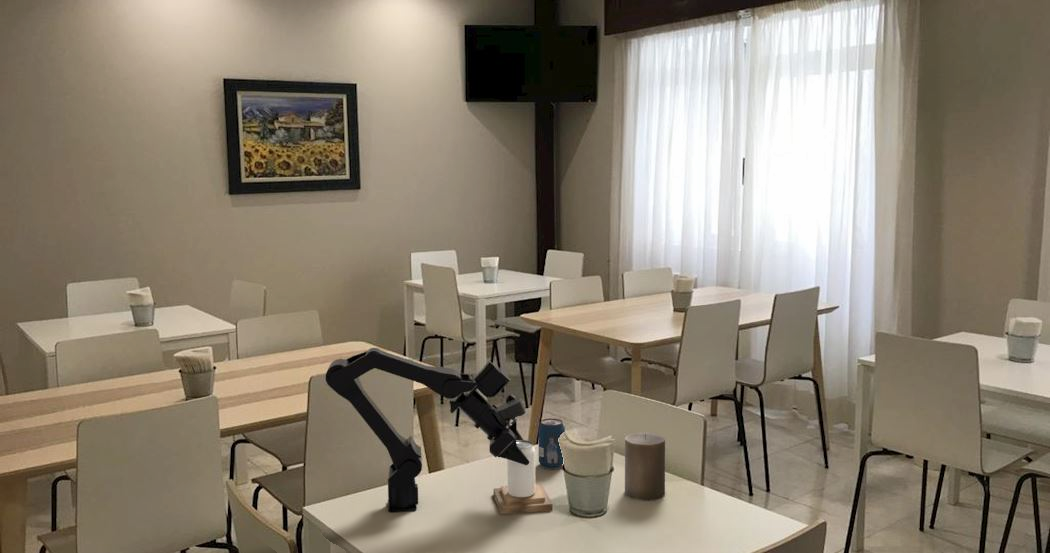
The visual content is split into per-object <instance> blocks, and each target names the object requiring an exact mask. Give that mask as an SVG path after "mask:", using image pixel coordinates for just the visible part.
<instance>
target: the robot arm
mask: <svg viewBox="0 0 1050 553" xmlns="http://www.w3.org/2000/svg"><path fill="white" fill-rule="evenodd" d="M374 369H376V370H380V371H382V372H385V373H389V374H391V375H395V376H398V377H400V378H404V379H407V380H410V381H412V382H415V383H418V384H422V385H424V386H425V387H427V388H428V389H430V391H432V392H434V393H435V394H438V395H440V396H442V397H444V398H446V399H449V402H448V403H449V406H450V410H449V411H450V413H451V414H453V413H455V411H457V410H458V409H459V410H460V411H461V412H462V413H464V415H466V417H467V418H468V419H470V420H471V422H472V423H474V427H475V429H480V430H481V431H482V432H484V434H486V436H487V437H486V438H487V439H488V441H489V453H490V454H491V455H492V456H493V457H494V458H502V459H505V460H507V459H508V460H512V461H515V462H518V463H521V464H524V465H528V464H529V460H528V459H527V457H526V456H525V455H524V453H523V452H522V451H521V449H520V448H519V447H518V445H517V444H516V440H524V438H523V436H522V435H521V433H520V432H519V430H518V429H517V428H518V427H517V421H518V420H517V417H521V416H523V415H525V414H526V408H525V406H524V403H523V402H522V398H521V397H519V396H515V395H514V394H512V393H510V394H508V395H506V396H505V402H503V403H502V404H501V405H497V404H496V403H490V402H489V401H488V400H487V399H486V398H490V399H491V398H495V397H496V396H498V395H499V393H500V392H501V391H502V390H503V389H504V388H505V387H507V385H508V384H510V382H511V381H512V380H511V378H510V377H509V375H508V374H507V373H505V371H504V370H503V369H502V368H501V367H498V366H497V365H496V364H494V363H493V362H492V361H491V360H488V361H487V362H486V363H485V365H484V367H483V368H481V369H480V371H478V372H477V374H476V375H475V374H471V373H463V372H462V373H461V372H460V371H458V370H457V369H455V368H452V367H450V368H449V367H444V366H429V365H425V364H422V363H420V362H417V361H413V360H410V359H407V358H405V357H401V356H398V355H395V354H392V353H389V352H386V351H384V350H381V349H380V348H377V347H370V348H369V349H368V350H366V351H364V352H360V353H358V354H355V355H352V356H350V357H348V358H346V359H345V358H337V359H334V360H333V361H332V362H331V363H330V364H329V366H328V368H327V370H326V373H325V382H326V384H327V386H328V387H329V388H331V389H332V390H333V391H334V392H335V393H336V394H338V396H340V397H342V398H343V399H345V400H346V401H348V403H350V404H351V406H352V407H353V409H355V410H356V412H357V413H358V414H359V415H360V417H361V418H362V419H363V421H364V422H365V424H367V426H368V427H369V428H370V429H371V430H372V432H373V433H374V434H375V436H377V438H378V440H379V441H380V442H381V443H382V445H383V446H384V447H385V448H386V450H387V452H388V455H389V457H390V459H391V462H392V464H390V466H388V478H387V494H388V495H387V512H389V513H392V512H393V513H394V512H407V511H416V510H417V509H418V507H417V505H419V486H418V483H416V477H418V476H419V474H421V473H422V469H423V456H422V454H423V453H422V447H421V446H419V445H418V444H417V443H416V442H415V440H414V438H413V436H412V435H410V436H409V437H407V438H405V437H404V436H402V435H401V434H399V432H398V431H397V430H396V428H395V427H394V426H393V424H392V423H391V422H390V420H389V419H388V418H387V417H386V416H385V415H384V413H383V412H382V411H381V409H380V408H379V407H378V405H377V404H376V403H375V402H374V400H373V399H372V397H370V395H369V394H368V392H366V390H365V389H364V387H363V385H362V383H361V380H360V378H359V377H361V376H363V375H364V374H366V373H369V372H370V371H371V370H374ZM477 390H478V391H477ZM511 420H512V421H511Z"/></svg>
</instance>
